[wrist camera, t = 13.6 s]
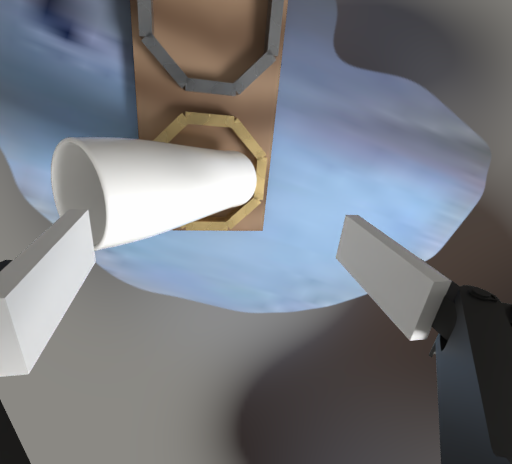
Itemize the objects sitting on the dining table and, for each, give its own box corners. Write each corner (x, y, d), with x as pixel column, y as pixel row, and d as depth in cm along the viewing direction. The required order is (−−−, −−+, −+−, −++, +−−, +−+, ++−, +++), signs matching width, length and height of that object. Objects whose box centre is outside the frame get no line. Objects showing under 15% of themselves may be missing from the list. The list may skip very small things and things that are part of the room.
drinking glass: (248, 225, 29) (99, 275, 17) (204, 188, 31) (47, 210, 20) (277, 166, 26) (117, 178, 14) (226, 129, 28) (51, 113, 16)
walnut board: (126, -93, 22) (123, -104, 21) (290, -55, 25) (294, -62, 24) (146, 225, 32) (144, 230, 31) (260, 226, 35) (262, 230, 34)
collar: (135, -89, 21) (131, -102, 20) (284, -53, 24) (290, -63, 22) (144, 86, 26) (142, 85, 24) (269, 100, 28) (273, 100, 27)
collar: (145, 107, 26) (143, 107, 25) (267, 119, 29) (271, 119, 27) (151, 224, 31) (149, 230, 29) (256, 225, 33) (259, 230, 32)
